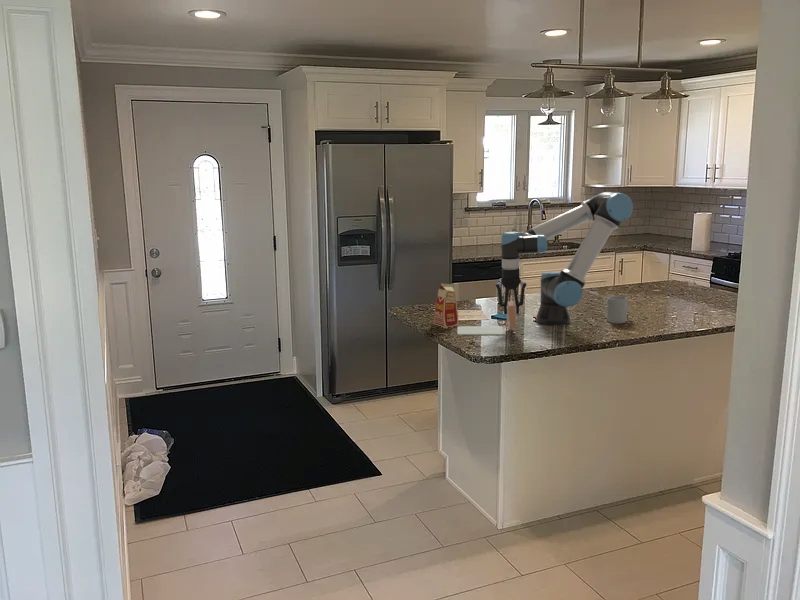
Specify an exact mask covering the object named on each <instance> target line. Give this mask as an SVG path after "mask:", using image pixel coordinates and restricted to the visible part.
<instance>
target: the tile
mask: <svg viewBox="0 0 800 600" xmlns="http://www.w3.org/2000/svg"><path fill="white" fill-rule="evenodd" d="M507 306H508V307H509V322H507V326H508V328H509V329H512V330H513V329H514V330H515V329H516V322H515V306H516V304H515V301H513V300H510V301H509V300H508V302H507Z"/></svg>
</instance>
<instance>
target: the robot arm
mask: <svg viewBox="0 0 800 600" xmlns="http://www.w3.org/2000/svg"><path fill="white" fill-rule="evenodd" d="M633 211H634V204H633V201H632V199H631V198H630V196H628V195H627V194H625V193H622V192H618V191H617V192H611V191H605V192H604V191H603V192H600V193H598V194H596V195H594V196H592V197H591V198H588V199H586V200H584V201H582V202H581V204H580V205H579V206H577V207H574V208H573V209H570V210H568V211H566V212H564V213H561V214H559V215H558V216H555V217H553V218H551V219H549V220H547V221H545V222H542V223H540V224H538V225H536V226H534V227H532V228H529V229H528V230H525V231H520V232H518V231H506V232H503V233H502V234H501V240H500V241H501V242H500V244H501V246H500V247H501V268H502V269H501V280H500V281H499V282H497V283H495V286H496V289H497V294H498V303H499V306H500V307H503V314H504V315H506V322H507V323H508V322H509V307H508V301H509V293H510V290H513V295H514V296H513V297H514V304H515V323H517V315H519V314H520V307H521V306H523V305H524V298H525V289H526V287H527V282H526V281H522V280H521V273H520V265H521V264H520V255H523V254H540V253H545V252H546V251H547V249H548V240H549V239H551V238H553V237H556V236H558V235H560V234H562V233H564V232H566V231H568V230H571V229H573V228H575V227H577V226H580V225H581V224H583V223H586V222H593V223H592V225H591V226H590V228H589V230H588V231H587V233H586V235H585V237H584V238H583V240H582V242H581V243H580V245H579V247H578V249H577V251H575V254H574V256H573V257H572V260H571V261H570V262H569V264H568V266H567V267H566V268H565V269H563V270H562V269H561V271H558V272H557V271H556V272H555V271H554V272H553V271H552V272H550V271H549V272H542V273H541V276H540V280H539V281H540V305H539V308H538V312H537V314H536V320H535V321H536V323H538V324H540V325H541V324H542V325H548V326H563V325H568V324H570V322H571V317H570V313H569V310H568V307H573V306H576V305H577V304H578V303H580V301H581V300H582V298H583V288H584V286H585V284H586V280H585V278H586V276H587V275H588V273H589V271H590V270H591V268H592V266H593V264H594V263H595V261H596V259H597V257H598V256H599V254H600V252H601V251H602V250H603V248H604V246H605V244H606V243H607V241H608V239H609V238H610V235H611V234H612V233H613V231H614V230H617V229H619V228H620V226H621V225H622V222H623V221H626V220H627V219H629V218H630V217H631V215H632V213H633ZM519 285H520V297H518V287H519ZM502 286H503V288H505V289H504V290H505V291H504V300H503V296H502V289H501V288H502ZM519 298H520V299H519Z"/></svg>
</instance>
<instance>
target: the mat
mask: <svg viewBox="0 0 800 600" xmlns="http://www.w3.org/2000/svg"><path fill="white" fill-rule="evenodd" d="M456 327H457V330H456V331H457V334H456V335H457V336H505V331H504V328H503V326H502V325H500V326H499V325H493V326H492V325H490V326H487V325H480V326H479V325H475V326H474V325H473V326H470V325H469V326H468V325H467V326H465V325H464V326H463V325H462V326H456Z"/></svg>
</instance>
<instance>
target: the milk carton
mask: <svg viewBox="0 0 800 600" xmlns="http://www.w3.org/2000/svg"><path fill="white" fill-rule="evenodd" d="M440 284H441V286H440V287H439V288H438V291H437V296H436V301H435V307H434V312H433V323H432V325H433V324H435V325H438V326H441V327H440V328H442V327H443V328H442V329H445V328H446V329H449V328H448V327H451V328H454V326H455V327H457V326H459V325H460V324H459V322H460V321H459V311H458V302H457V296H456V291H455V289H454V287H453V286H454V284H448V283H443V282H441V283H440ZM435 325H434V326H435ZM438 326H437V327H438Z"/></svg>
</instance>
